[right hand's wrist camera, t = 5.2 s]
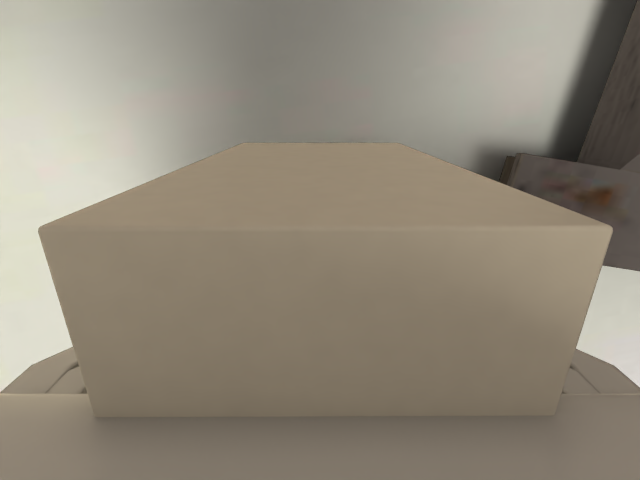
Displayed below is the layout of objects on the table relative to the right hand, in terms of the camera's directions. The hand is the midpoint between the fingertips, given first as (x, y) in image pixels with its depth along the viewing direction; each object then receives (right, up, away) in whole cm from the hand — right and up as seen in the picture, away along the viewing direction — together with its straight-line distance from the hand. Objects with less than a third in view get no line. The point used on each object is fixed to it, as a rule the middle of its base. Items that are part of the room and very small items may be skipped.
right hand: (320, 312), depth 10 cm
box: (0, -7, +8) cm, 10 cm away
